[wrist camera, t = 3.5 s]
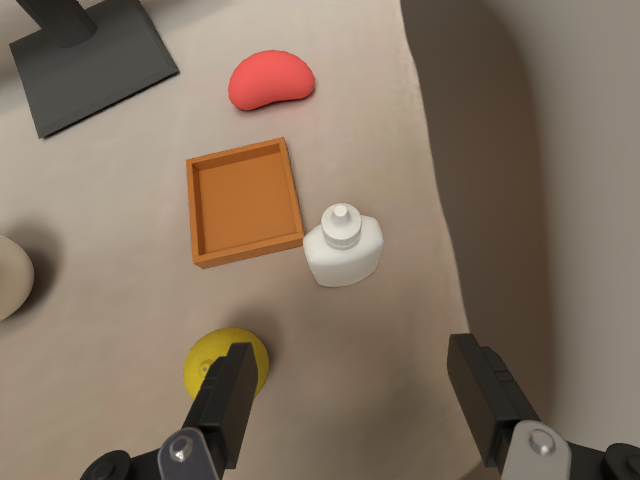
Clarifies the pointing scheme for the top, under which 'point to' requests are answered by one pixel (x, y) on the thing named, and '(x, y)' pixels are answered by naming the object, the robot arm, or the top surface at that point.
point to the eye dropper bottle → (343, 246)
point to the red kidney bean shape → (269, 79)
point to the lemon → (219, 346)
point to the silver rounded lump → (13, 277)
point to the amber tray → (243, 204)
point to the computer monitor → (86, 58)
